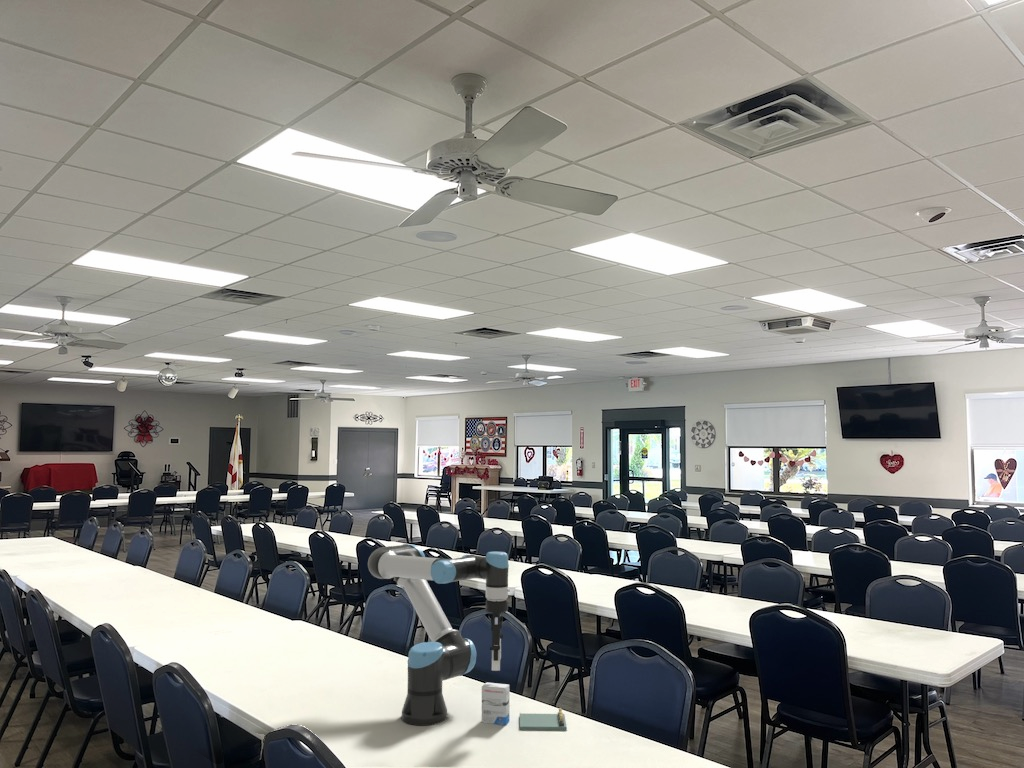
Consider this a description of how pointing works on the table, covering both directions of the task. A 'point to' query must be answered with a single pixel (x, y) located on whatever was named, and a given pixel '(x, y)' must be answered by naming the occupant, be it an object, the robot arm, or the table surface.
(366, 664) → the table surface
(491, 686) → the ink box
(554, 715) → the header board
